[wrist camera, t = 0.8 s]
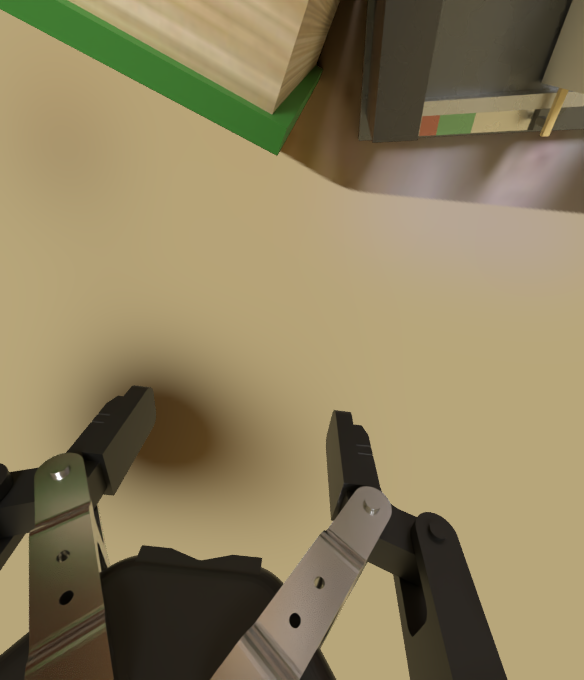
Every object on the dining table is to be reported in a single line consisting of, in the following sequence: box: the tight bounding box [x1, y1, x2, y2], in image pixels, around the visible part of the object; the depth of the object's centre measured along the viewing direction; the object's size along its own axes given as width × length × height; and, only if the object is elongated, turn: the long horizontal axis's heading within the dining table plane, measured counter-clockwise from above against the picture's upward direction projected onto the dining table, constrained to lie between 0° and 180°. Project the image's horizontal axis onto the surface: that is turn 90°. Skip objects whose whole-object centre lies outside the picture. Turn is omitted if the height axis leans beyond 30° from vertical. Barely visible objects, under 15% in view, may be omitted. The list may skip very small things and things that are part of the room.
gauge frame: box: [358, 0, 584, 142], centre depth 20 cm, size 16×21×11 cm
